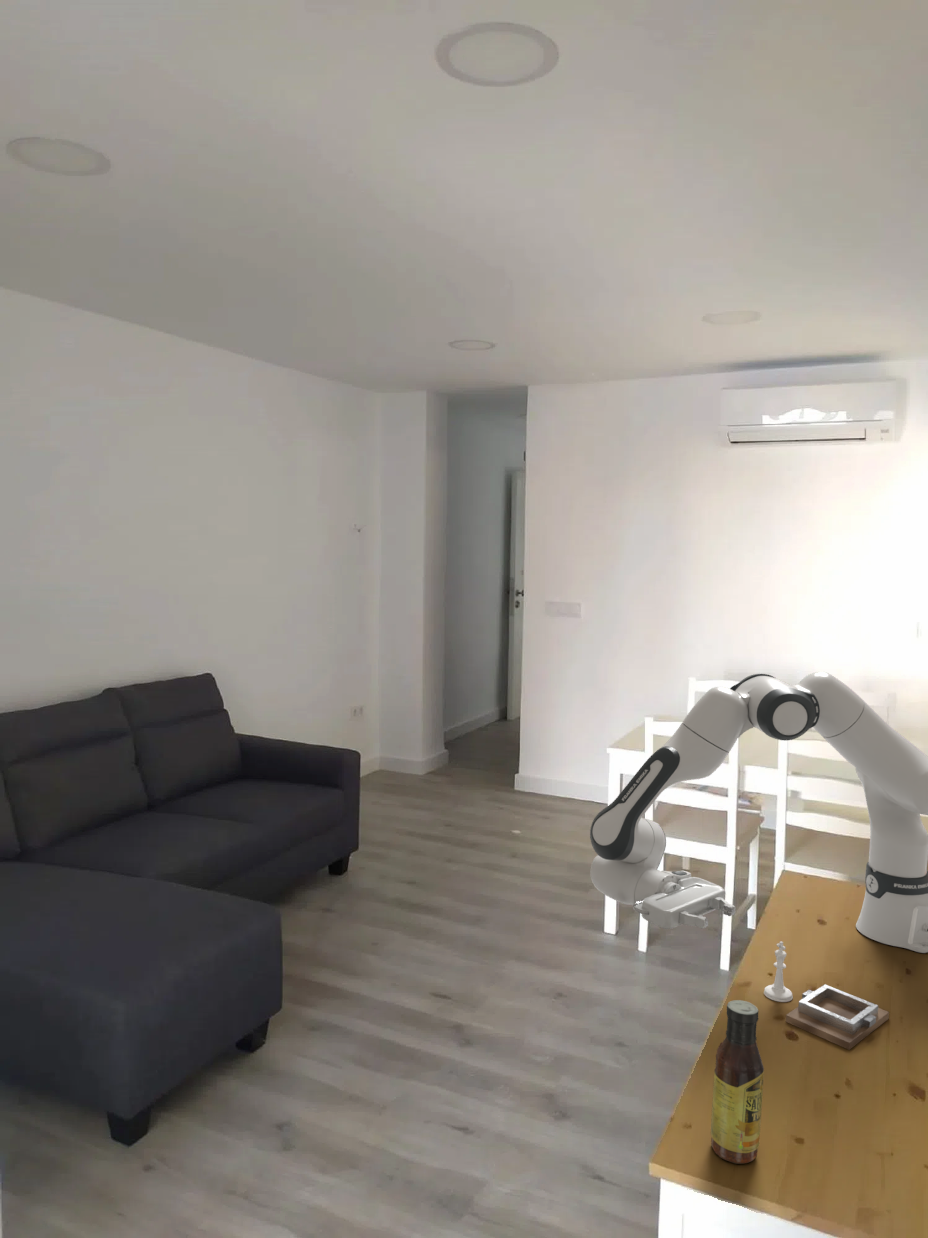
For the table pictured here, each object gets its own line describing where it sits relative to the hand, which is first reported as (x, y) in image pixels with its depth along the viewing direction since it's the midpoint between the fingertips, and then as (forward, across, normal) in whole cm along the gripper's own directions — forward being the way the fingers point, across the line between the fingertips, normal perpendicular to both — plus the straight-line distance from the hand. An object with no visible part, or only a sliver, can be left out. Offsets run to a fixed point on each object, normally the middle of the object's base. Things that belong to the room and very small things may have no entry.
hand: (720, 917), depth 170 cm
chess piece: (+12, 0, +10) cm, 16 cm away
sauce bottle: (+30, -43, +11) cm, 54 cm away
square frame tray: (+23, 0, +9) cm, 25 cm away
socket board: (+23, 0, +10) cm, 25 cm away
